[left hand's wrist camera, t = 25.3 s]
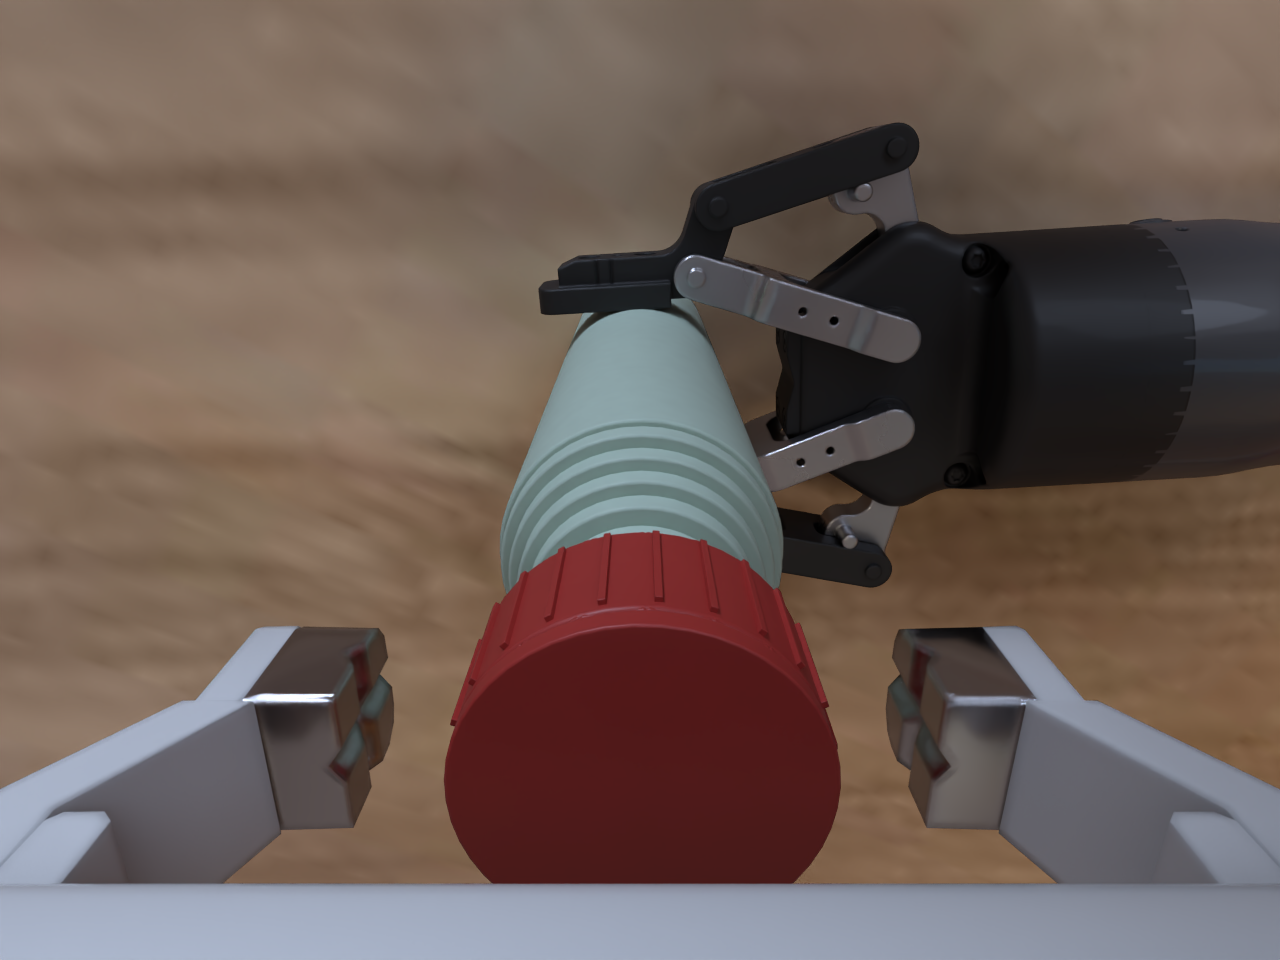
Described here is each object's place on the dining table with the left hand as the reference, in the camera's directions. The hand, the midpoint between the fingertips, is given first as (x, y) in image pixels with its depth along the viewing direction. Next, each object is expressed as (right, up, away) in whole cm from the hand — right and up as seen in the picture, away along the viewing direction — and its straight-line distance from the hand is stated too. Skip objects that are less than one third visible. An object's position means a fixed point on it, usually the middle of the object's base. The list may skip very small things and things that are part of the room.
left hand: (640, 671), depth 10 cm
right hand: (-3, +5, +14) cm, 15 cm away
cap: (0, -1, -2) cm, 2 cm away
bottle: (0, +8, +20) cm, 21 cm away
